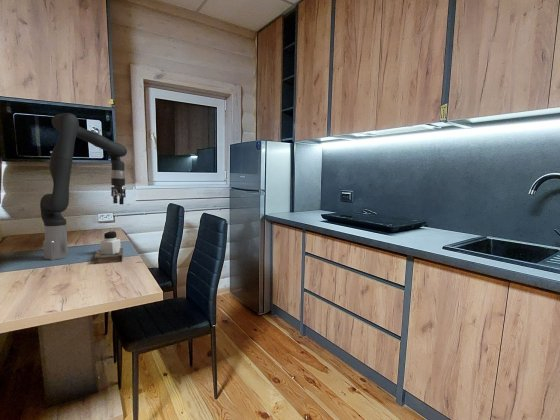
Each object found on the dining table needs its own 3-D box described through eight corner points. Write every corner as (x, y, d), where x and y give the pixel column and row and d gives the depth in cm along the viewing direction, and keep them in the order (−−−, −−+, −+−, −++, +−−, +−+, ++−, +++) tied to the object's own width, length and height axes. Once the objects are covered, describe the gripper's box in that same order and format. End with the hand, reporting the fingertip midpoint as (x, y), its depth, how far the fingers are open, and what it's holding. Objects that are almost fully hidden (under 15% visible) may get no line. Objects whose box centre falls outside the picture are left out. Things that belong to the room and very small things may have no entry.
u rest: (98, 255, 162) (97, 249, 161) (122, 253, 167) (122, 247, 167) (94, 264, 146) (94, 258, 145) (122, 261, 151) (121, 255, 151)
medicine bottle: (120, 251, 170) (120, 231, 169) (112, 254, 163) (112, 233, 162) (109, 251, 171) (108, 230, 169) (100, 254, 164) (99, 232, 162)
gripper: (106, 177, 185) (107, 203, 186) (116, 177, 176) (117, 204, 178) (119, 177, 191) (119, 203, 192) (129, 178, 182) (129, 204, 183)
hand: (118, 203), depth 185 cm, fingers open, 8 cm apart
